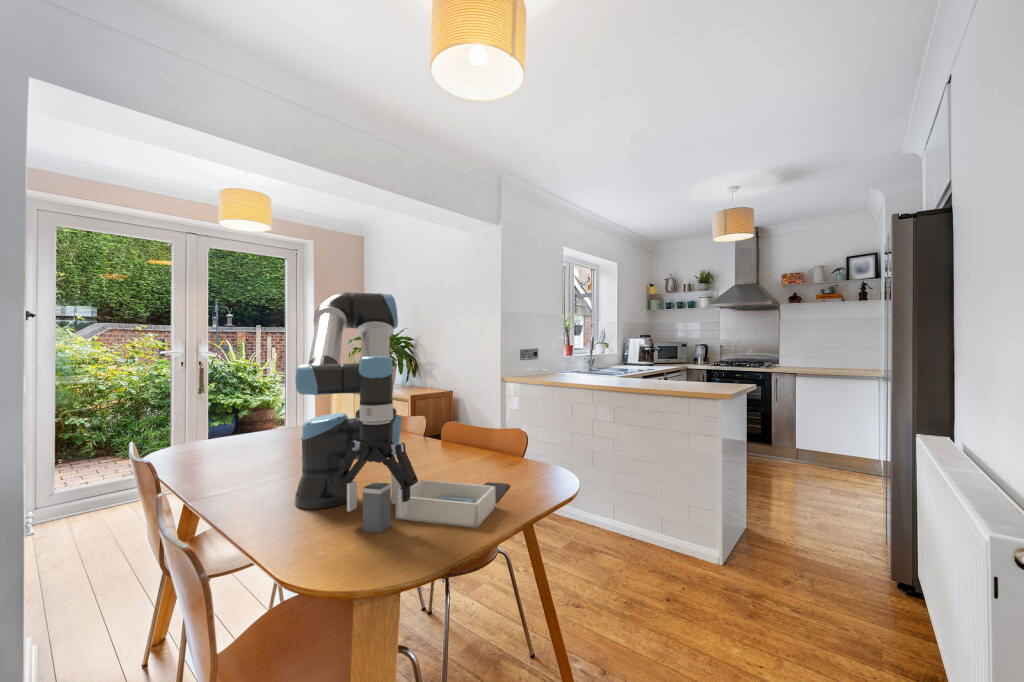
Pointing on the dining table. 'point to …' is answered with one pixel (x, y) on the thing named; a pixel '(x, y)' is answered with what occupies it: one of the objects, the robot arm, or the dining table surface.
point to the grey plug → (376, 507)
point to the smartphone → (498, 489)
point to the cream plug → (395, 487)
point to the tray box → (449, 503)
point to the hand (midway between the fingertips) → (376, 512)
